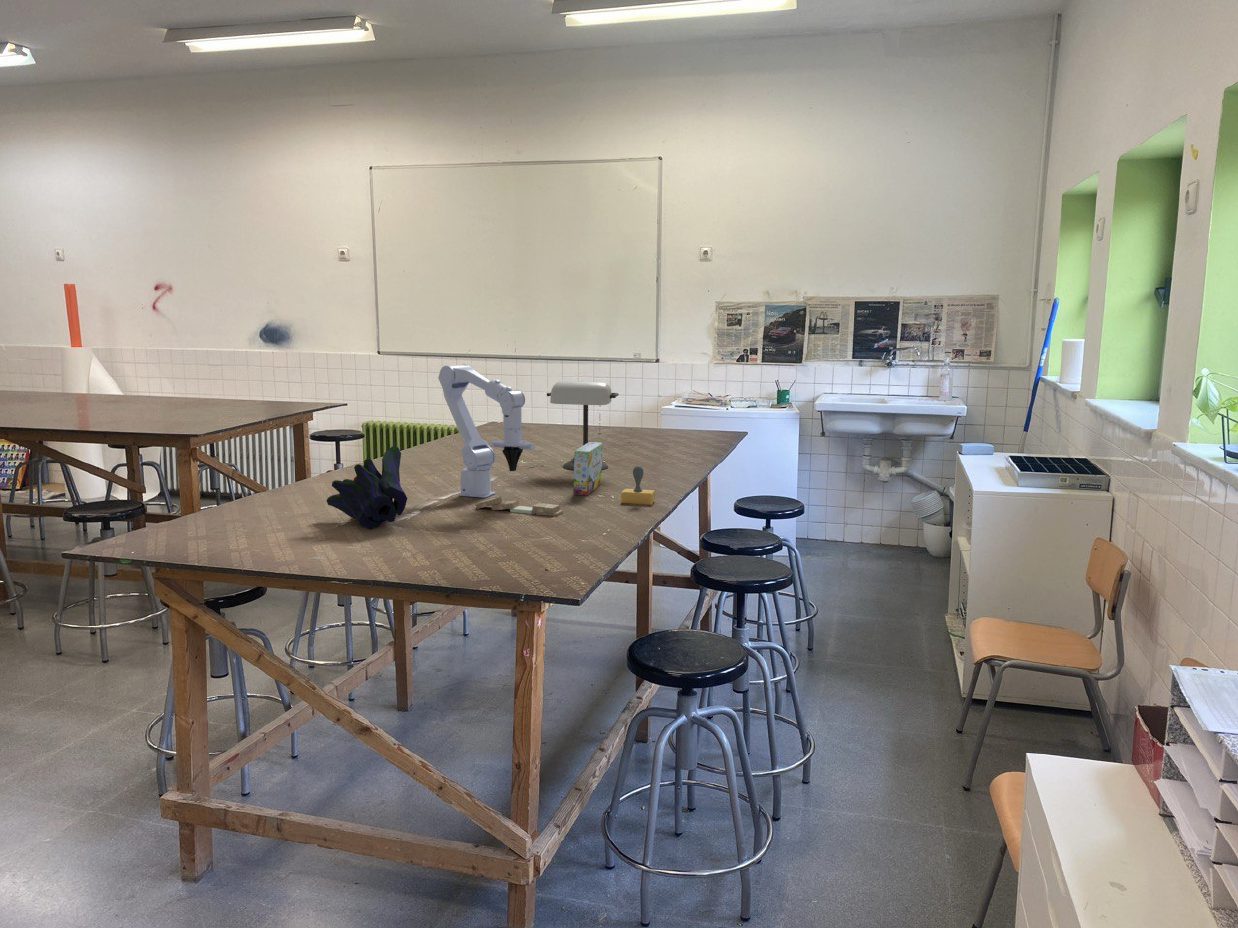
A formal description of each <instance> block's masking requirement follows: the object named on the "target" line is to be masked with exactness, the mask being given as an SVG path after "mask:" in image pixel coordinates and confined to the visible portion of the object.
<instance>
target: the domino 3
mask: <svg viewBox="0 0 1238 928" xmlns="http://www.w3.org/2000/svg"><path fill="white" fill-rule="evenodd" d="M509 511H510V513H516V514H517V513H518V514H519V513H520V514H529V515H531V514H533V513H536V511H532V506H524V505H519V506H517V507H515V508H512V509H509Z"/></svg>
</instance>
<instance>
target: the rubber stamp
mask: <svg viewBox="0 0 1238 928" xmlns="http://www.w3.org/2000/svg"><path fill="white" fill-rule="evenodd" d="M632 475H633V479H634V481H635V488H624V489H623V490H622V491H621V496H620V498H621V501H620V503H621V504H629V503H631V504H632V505H634V504H635V505H648V506H653V504H654V502H655V496H656V495H655V490H654V489H653V490H652V489H642V488H641V486H640V485H641V482H642V480H643V478H644V477H643V476H644V468H643V467H642V466H641V465H636V466H634V467H633V469H632Z"/></svg>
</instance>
